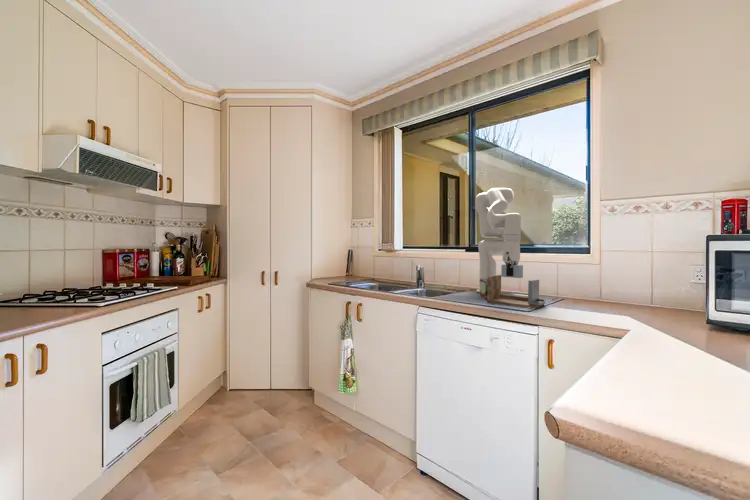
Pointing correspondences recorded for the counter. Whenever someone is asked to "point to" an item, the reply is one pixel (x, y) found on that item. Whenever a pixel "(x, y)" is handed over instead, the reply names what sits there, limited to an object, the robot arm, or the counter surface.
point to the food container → (483, 288)
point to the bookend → (534, 292)
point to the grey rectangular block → (516, 271)
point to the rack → (498, 298)
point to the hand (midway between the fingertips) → (511, 275)
